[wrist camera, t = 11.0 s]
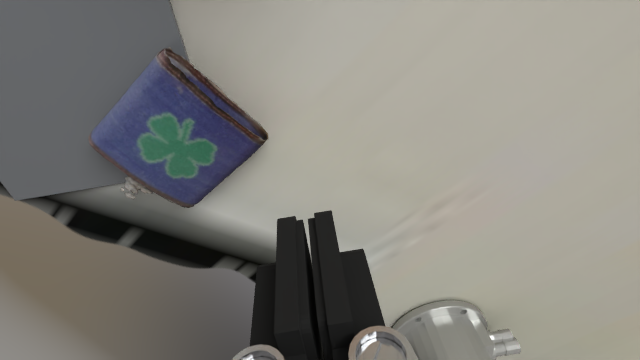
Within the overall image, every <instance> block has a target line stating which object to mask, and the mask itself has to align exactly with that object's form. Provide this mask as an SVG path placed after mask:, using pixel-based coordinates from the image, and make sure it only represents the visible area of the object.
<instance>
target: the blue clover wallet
mask: <svg viewBox="0 0 640 360" xmlns="http://www.w3.org/2000/svg"><path fill="white" fill-rule="evenodd" d="M193 67H194V65H193V64H191V63H190V62H189V61H188V60H186V59H185V58H184V57H182V56H181V55H177V54H176V53H174V52H173V51H172V49H171V48H170V47H169V48H167V49H166V48H164V49H163V50H161V51H160V52H158V54H157V55H156V56H155V58H154V59H153V60H152V61H151V62H150V64H149V65H148V66H147V67H146V69H145V70H144V71H143V72H142V73H141V75H140V76H139V77H138V78H137V79H136V80H135V81H134V82H133V84H132V85H131V86H130V87H129V89H128V90H127V91H126V93H125V94H124V95H123V96H122V97H121V99H120V100H119V101H118V102H117V103H116V104H115V105H114V107H113V108H112V109H111V110H110V111H109V113H108V114H107V115H106V116H105V117H104V118H103V119H102V120H101V122H100V123H99V124H98V125H97V126H96V127H95V128H94V129H93V131H92V132H91V133H90V135H89V137H88V140H89V144H90V146H91V147H92V148H93V149H94V150H95V151H96V152H97V153H99V154H100V155H101V156H102V157H103V158H105V159H106V160H107V161H109V162H110V163H112V164H113V165H114V166H115V167H117V168H118V169H119V170H120V171H122V172H123V173H125V174H126V175H128V176H127V177H126V178H125V180H126V183H125V188H126V189H127V190H129V191H131V192H132V193H134V194H137V192H138V190H141V191H142V192H143V193H149V194H150V193H153V192H154V193H156V194H158V195H159V196H161V197H163V198H165V199H167V200H168V201H170V202H172V203H176V204H178V205H180V206H182V207H187V208H190V207H193V206H194V205H195V204H197V203H198V202H200V201H201V200H202V199H203V198H204V197H205V196H206V195H207V194H208V193H209V192H211V191H212V190H213V189H214V188H215V187H216V186H217V185H218V184H220V183H221V182H222V181H223V180H224V179H225V178H226V177H227V176H229V175H230V174H231V173H232V172H233V171H234V170H235V169H236V168H237V167H238V166H240V165H241V164H242V163H243V162H244V161H246V160H247V159H248V158H249V157H251V156H252V154H253V153H255V152H256V151H257V150H258V149H259V148H260V147H261V146H262V145H263V144H264V142H265V141H266V140H267V139H268V135H267V134H268V133H267V132H266V131H265V130H264V129H263V128H262V126H260V124H259V122H257V121H255V120H254V119H253V118H251V117H250V116H249V114H247V112H245V111H243V110H242V109H241V108H239V106H238V105H237V104H236V103H235V102H232V101H231V100H229V99H228V97H227V96H226V95H225V94H224V92H223V91H222V90H221V89H220V88H218V86H217V85H215V84H214V83H213V82H212V81H210V80H208V79H207V77H205V76H204V75H203V74H201V72H199V71H198V70H196V69H194V68H193ZM121 191H124V188H121ZM125 195H126V196H127V197H128V198H131V199H135V198H136V197H135V196H134V195H131V194H130V193H129V192H128V193H125Z"/></svg>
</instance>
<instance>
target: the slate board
mask: <svg viewBox="0 0 640 360" xmlns="http://www.w3.org/2000/svg"><path fill="white" fill-rule="evenodd" d="M169 47H170V48H171V49H172V51H173V52H174V53H176V54H177V55H181V56H182V57H184V58H185V59H186V60H188V61H189V59H188V56H187V52H186V49H185V46H184V43H183V40H182V37H181V34H180V31H179V28H178V25H177V22H176V19H175V16H174V13H173V10H172V6H171V3H170V0H0V181H1V183H2V184H3V185H4V187H5V188H6V189H7V191H8V192H9V193H10V194H11V196H12V197H13V198H14V200H15V201H16V200H22V199H28V198H34V197H40V196H47V195H53V194H59V193H65V192H71V191H77V190H83V189H89V188H95V187H101V186H107V185H114V184H120V183H126V180H125V178H126V177H127V176H128V175H126V174H125V173H123V172H122V171H120V170H119V169H118V168H117V167H115V166H114V165H113V164H112V163H110V162H109V161H107V160H106V159H105V158H103V157H102V156H101V155H100V154H99V153H97V152H96V151H95V150H94V149H93V148H92V147H91V146H90V144H89V140H88V137H89V135H90V133H91V132H92V131H93V129H94V128H95V127H96V126H97V125H98V124H99V123H100V122H101V120H102V119H103V118H104V117H105V116H106V115H107V114H108V113H109V111H110V110H111V109H112V108H113V107H114V105H115V104H116V103H117V102H118V101H119V100H120V99H121V97H122V96H123V95H124V94H125V93H126V91H127V90H128V89H129V87H130V86H131V85H132V84H133V82H134V81H135V80H136V79H137V78H138V77H139V76H140V75H141V73H142V72H143V71H144V70H145V69H146V67H147V66H148V65H149V64H150V62H151V61H152V60H153V59H154V58H155V56H156V55H157V54H158V52H160V51H161V50H163V49H164V48H166V49H167V48H169Z"/></svg>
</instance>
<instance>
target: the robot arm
mask: <svg viewBox="0 0 640 360" xmlns="http://www.w3.org/2000/svg"><path fill="white" fill-rule="evenodd" d="M314 216H315V218H310V219H308V224H309V235H310V246H311V256H312V263H311V258H310V253H309V248H308V243H307V238H306V233H305V228H304V223H303V220H298V221H296V217H295V216H293V217H287V218H280V219H278V220H277V249H276V263H270V264H264V265H258V267H257V274H256V286H255V296H254V307H253V317H252V328H251V340H250V347H248V348H246V349H244V350H242V351H241V352H240V353H238V354H237V355H236V356H234V358H233V359H232V360H323V353H322V347H323V352H324V357H325V360H496V356H502V355H505V356H507V355H513V354H518V353H520V352H521V349H520V345H519V343H518V341H517V339H516V338H515V337H513V335H512V332H511V331H510V330H509V329H503V330H498V331H495V332H490V331H489V330H487V321H486V318H485V317H484V315H483V313H482V312H481V310H480V309H479V308H477V307H476V306H474V305H472V304H470V303H467V302H463V301H456V300H447V301H438V302H433V303H430V304H426V305H423V306H421V307H418V308H416V309H414V310H412V311H411V312H409V313H407V314H406V315H404V316H403V317H402V318H400V319H399V320H398V321H397V322H396V324H395V325H394V326H393V327H392V328H390V327H386V326H385V324H384V320H383V316H382V313H381V309H380V306H379V302H378V299H377V295H376V292H375V288H374V285H373V281H372V277H371V274H370V270H369V267H368V263H367V260H366V256H365V253H364V250H363V249H358V250H352V251H346V252H339V247H338V242H337V237H336V232H335V226H334V221H333V216H332V211H324V212H318V213H314ZM312 267H313V269H312ZM321 342H322V343H321Z"/></svg>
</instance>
